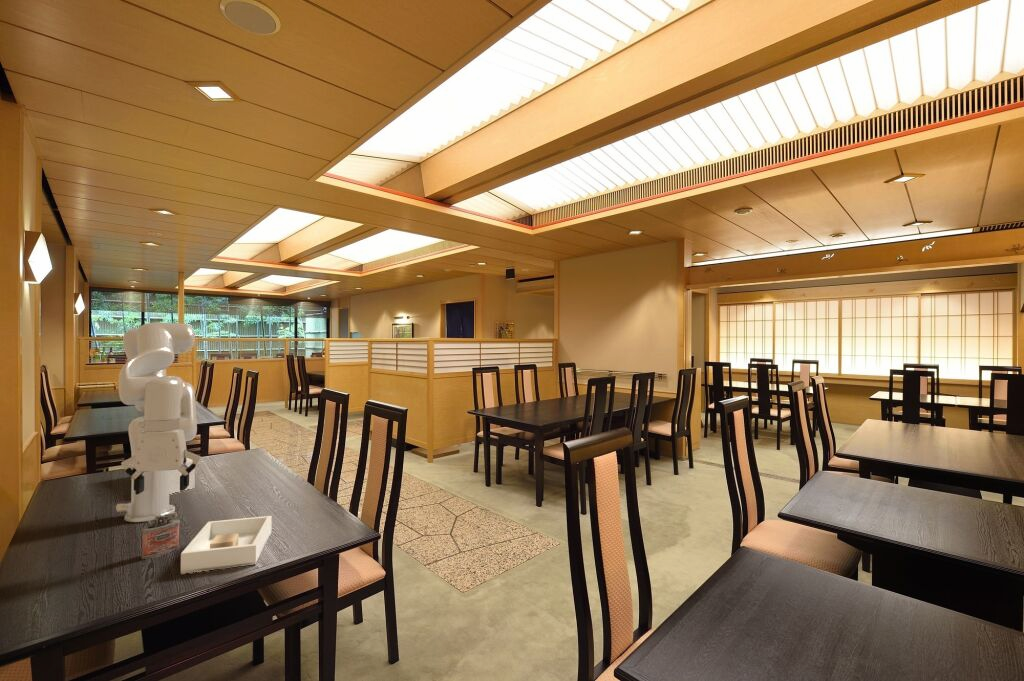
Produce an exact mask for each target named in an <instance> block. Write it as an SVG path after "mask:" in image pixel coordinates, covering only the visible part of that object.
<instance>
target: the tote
mask: <svg viewBox="0 0 1024 681" xmlns="http://www.w3.org/2000/svg"><path fill="white" fill-rule="evenodd" d="M272 517H273V516H272V515H266V516H256V517H255V516H254V517H245V518H244V517H243V518H236V519H235V518H234V519H223V520H221V519H220V520H212V521H210V520H209V521H207V522H206V524H205V525H204V526H203V527H202V528H201V529H200V531H199V532H198V533H197V534H196V535H195V537H194V538H193V539H192V540H191V541H190V542H189V543H188V545H187V546H186V547H185V548H184V550H182V552H181V553H180V575H186V573H189V574H196V573H195V572H197V573H203V572H202V571H205V572H210V571H209V570H214V569H219V568H227V567H233V566H241V565H249V564H256V562H257V560H258V558H259V556H260V554H261V555H262V553H263V551H264V549H265V547H266V545H267V543H268V541H269V539H270V537H271V535H272V527H273V525H272V523H273V522H272V521H273V520H272V519H273V518H272ZM237 533H238V546H231V547H222V548H213V549H210V543H211V542H212V541H213V539H214V538H215V537H216V536H217V535H227V534H237ZM270 534H271V535H270ZM269 536H270V537H269ZM268 538H269V539H268ZM267 540H268V541H267ZM266 542H267V543H266ZM265 544H266V545H265ZM264 546H265V547H264ZM263 548H264V549H263ZM262 550H263V551H262ZM261 552H262V553H261ZM260 557H261V556H260ZM259 559H260V558H259ZM258 561H259V560H258ZM257 563H258V562H257ZM256 565H257V564H256ZM214 571H215V570H214ZM193 572H194V573H193Z"/></svg>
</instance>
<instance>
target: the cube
mask: <svg viewBox="0 0 1024 681" xmlns="http://www.w3.org/2000/svg"><path fill="white" fill-rule="evenodd" d="M231 546H238V533H237V534H227V535H217V536H216V537H215V538H214V539H213V541H212V542H211V543H210V549H213V548H222V547H231Z"/></svg>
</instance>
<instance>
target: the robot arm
mask: <svg viewBox="0 0 1024 681" xmlns="http://www.w3.org/2000/svg"><path fill="white" fill-rule="evenodd" d="M195 342H196V334H195V331H194V329H193V327H192V326H191V325H190V324H187V323H182V322H180V323H179V322H178V323H177V322H148V323H144V324H142V325H140V326H139V327H138V328H133V329H129V330H127V331H126V332H125V333H124V334H123V339H122V343H123V349H124V352H125V355H126V359H127V360H128V361H127V362H126V363H125V364H124V365H123V366H122V367H121V369H120V371H119V374H118V395H119V399H120V402H122V404H124V405H127V406H135V409H136V410H137V411H138V412H141V413H144V415H143V416H138V417H137V418H134V419H133V420H132V421H131V422H130V423H129V425H128V430H127V431H128V438H129V443H130V451H131V453H130V454H131V456H130V457H129V458H128V459H125V460H123V461H121V463H120V464H121V466H122V468H123V469H124V471H125V473H126V474H127V475H129V476H130V477H131V491H130V492H131V494H130V495H131V496H130V497H131V498H130V499H131V502H128V503H117V504H116V506H115V511H116V513H122V512H126V513H125V515H124V521H126V522H128V523H129V522H130V523H143V522H148V519H151V518H155V517H156V516H157V515H162V516H163V515H165V514H169V513H173V512H175V511H176V506H175V505H173V504H170V495H169V478H170V470H175V469H177V470H178V471H179V472H180V473H181V474H182V475H181V476H180V491H184V490H185V489H186V488H187V486H189V473H190V472H191V471H192V470H193V469H194V468H195V469H196V467H198V464H199V463H200V461H201V460H202V456H201V455H198V454H196V453H194V452H191V451H188V449H187V442H190V441H193V440H194V438H196V435H197V432H198V426H197V425H198V424H197V423H198V419H197V406H196V393H195V389H194V388H195V387H194V386H193V384H191V383H189V382H187V381H184V380H183V379H182V378H181V377H179V376H178V375H177V376H176V375H167V368H169V367H170V366H171V365H172V364H173V363H174V362H175V356H176V355H181V354H182V355H183V354H184V355H185V354H186V353H188V352H189V351H191V350H192V349H193V348H194V346H195ZM187 458H189V459H192V460H193V462H192V464H191V465H190V466H189V467H188V466H187V465H186V461H187ZM184 492H185V491H184Z"/></svg>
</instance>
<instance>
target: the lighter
mask: <svg viewBox="0 0 1024 681" xmlns="http://www.w3.org/2000/svg"><path fill="white" fill-rule="evenodd" d="M177 516H178V513H177V512H175V511H174V512H173V513H169V514H165V515H163V516H162V515H157V516H156V517H155V518H151V519H148V521H147V524H148V526H145V527H143V528H142V529H141V532H142V554H141V560H143V559H146V560H151V559H154V557H155V558H159V557H161V555H162V556H164V555H163V554H165V555H167V554H166V553H168V554H170V553H169V552H171V553H173V552H172V551H174V552H176V551H175V550H177V551H179V550H180V542H179V541H180V540H179V539H180V524H181V520H180V519H174V518H177ZM172 519H173V520H172ZM178 549H179V550H178ZM150 558H151V559H150Z"/></svg>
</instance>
